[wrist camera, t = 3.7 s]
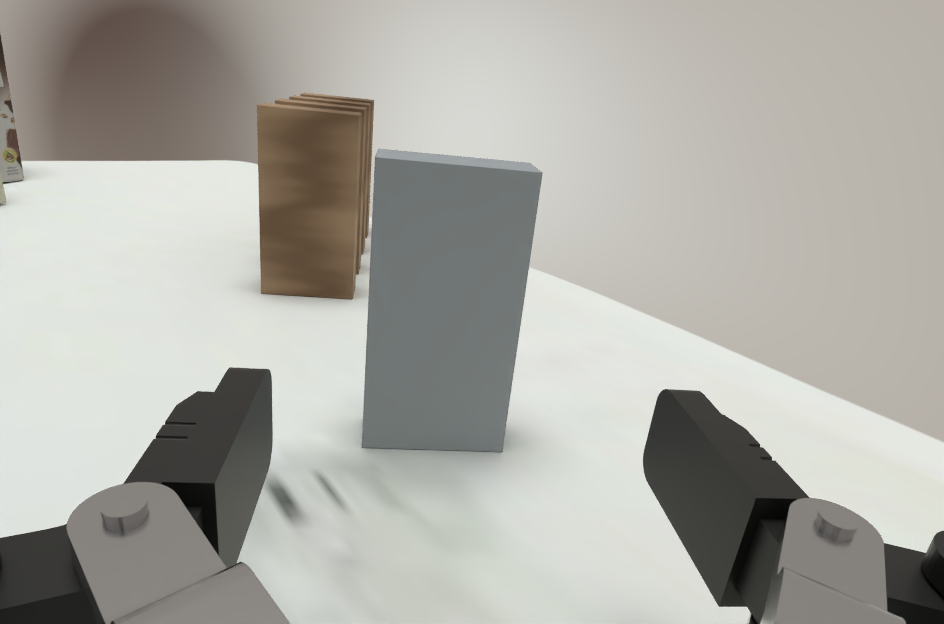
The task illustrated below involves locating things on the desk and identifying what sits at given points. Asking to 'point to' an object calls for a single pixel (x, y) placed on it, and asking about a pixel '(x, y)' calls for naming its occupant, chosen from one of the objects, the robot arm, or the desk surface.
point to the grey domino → (445, 298)
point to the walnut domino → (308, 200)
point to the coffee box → (8, 131)
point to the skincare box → (2, 191)
